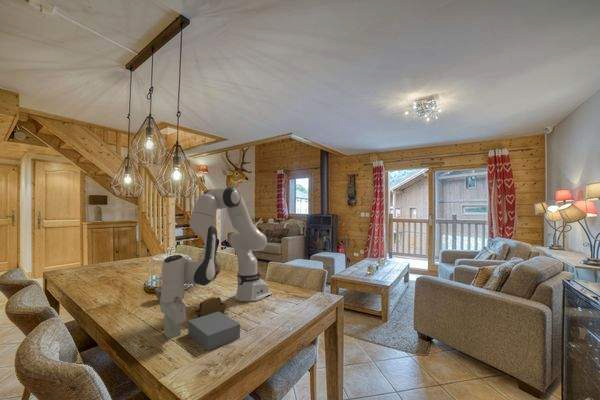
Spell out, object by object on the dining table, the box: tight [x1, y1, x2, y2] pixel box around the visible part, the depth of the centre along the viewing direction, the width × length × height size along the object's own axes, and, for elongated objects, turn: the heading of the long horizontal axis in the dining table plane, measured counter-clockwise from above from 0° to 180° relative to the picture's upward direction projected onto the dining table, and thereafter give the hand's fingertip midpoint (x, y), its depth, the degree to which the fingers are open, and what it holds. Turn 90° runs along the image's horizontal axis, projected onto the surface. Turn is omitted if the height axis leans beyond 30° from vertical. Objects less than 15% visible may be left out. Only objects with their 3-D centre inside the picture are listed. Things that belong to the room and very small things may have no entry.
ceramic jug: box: [200, 237, 222, 279], centre depth 196 cm, size 17×15×30 cm
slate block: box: [187, 312, 241, 352], centre depth 111 cm, size 14×18×6 cm
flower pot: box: [154, 285, 162, 302], centre depth 150 cm, size 10×10×7 cm
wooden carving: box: [193, 296, 228, 318], centre depth 128 cm, size 16×5×10 cm, turn 141°
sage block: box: [163, 314, 182, 340], centre depth 111 cm, size 5×5×8 cm
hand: (172, 327), depth 111 cm, fingers closed on sage block, 5 cm apart
